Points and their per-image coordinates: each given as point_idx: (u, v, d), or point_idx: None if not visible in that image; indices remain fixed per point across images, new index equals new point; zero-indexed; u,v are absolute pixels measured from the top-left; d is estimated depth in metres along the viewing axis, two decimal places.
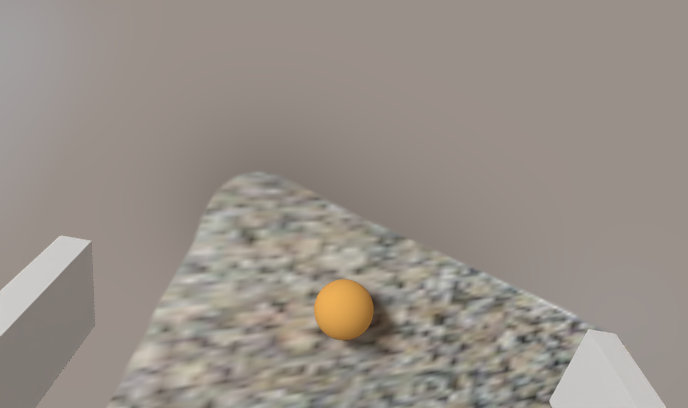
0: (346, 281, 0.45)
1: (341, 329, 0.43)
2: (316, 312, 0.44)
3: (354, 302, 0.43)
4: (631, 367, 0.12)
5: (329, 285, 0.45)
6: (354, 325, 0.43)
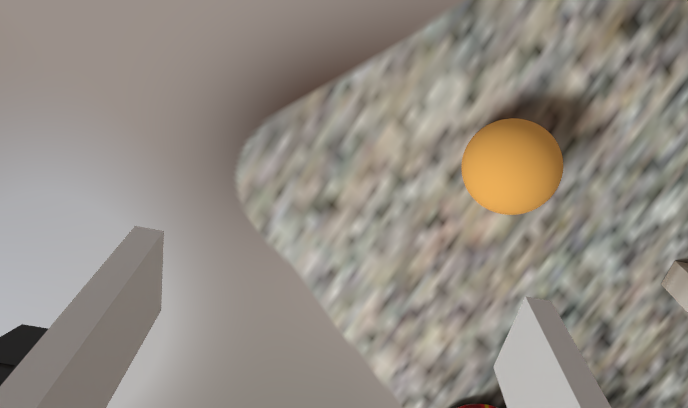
0: (481, 145, 0.27)
1: (540, 201, 0.26)
2: (488, 209, 0.28)
3: (522, 165, 0.25)
4: (560, 329, 0.13)
5: (468, 170, 0.27)
6: (550, 183, 0.26)
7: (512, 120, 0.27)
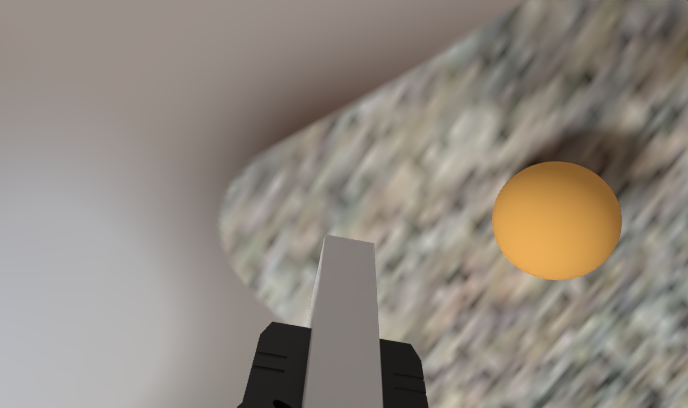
0: (519, 197, 0.21)
1: (593, 267, 0.21)
2: None
3: (573, 225, 0.20)
4: (368, 264, 0.13)
5: (502, 226, 0.22)
6: (608, 246, 0.21)
7: (558, 165, 0.22)
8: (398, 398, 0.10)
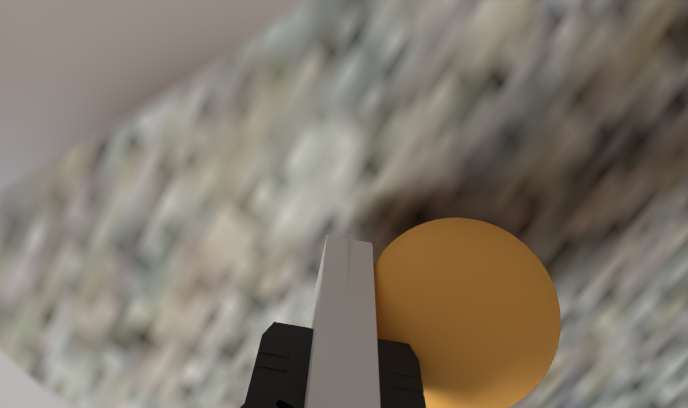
0: (396, 291, 0.12)
1: (519, 400, 0.13)
2: None
3: (485, 347, 0.11)
4: (366, 264, 0.13)
5: None
6: (541, 370, 0.12)
7: (458, 231, 0.13)
8: (396, 398, 0.10)
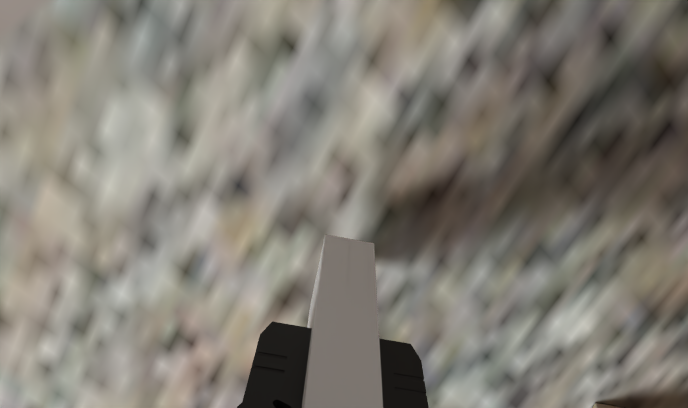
0: None
1: None
2: None
3: None
4: (367, 264, 0.13)
5: None
6: None
7: None
8: (398, 398, 0.10)
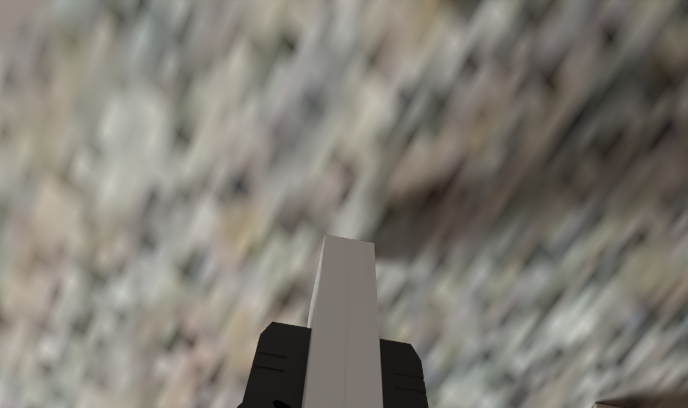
0: None
1: None
2: None
3: None
4: (367, 264, 0.13)
5: None
6: None
7: None
8: (398, 398, 0.10)
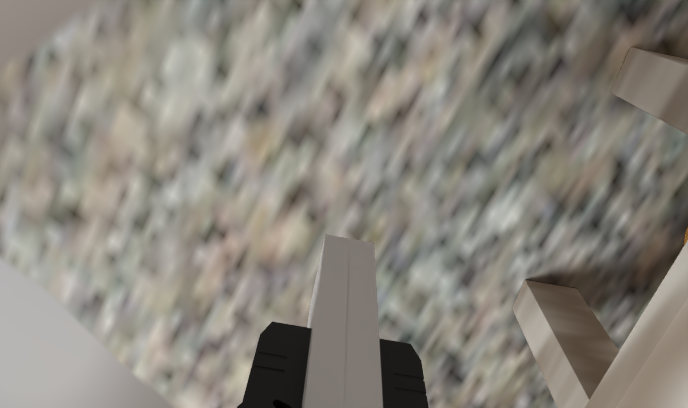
0: None
1: None
2: None
3: None
4: (367, 264, 0.13)
5: None
6: None
7: None
8: (398, 398, 0.10)
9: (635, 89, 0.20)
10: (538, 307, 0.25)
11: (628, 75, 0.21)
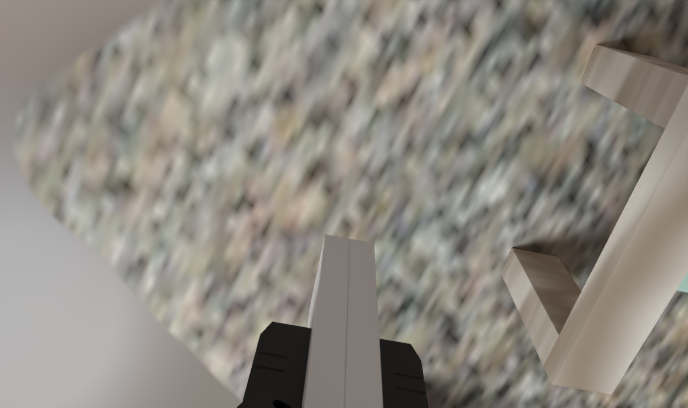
0: None
1: None
2: None
3: None
4: (368, 264, 0.13)
5: None
6: None
7: None
8: (398, 398, 0.10)
9: (598, 79, 0.24)
10: (522, 268, 0.29)
11: (593, 67, 0.25)
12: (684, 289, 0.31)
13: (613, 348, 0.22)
